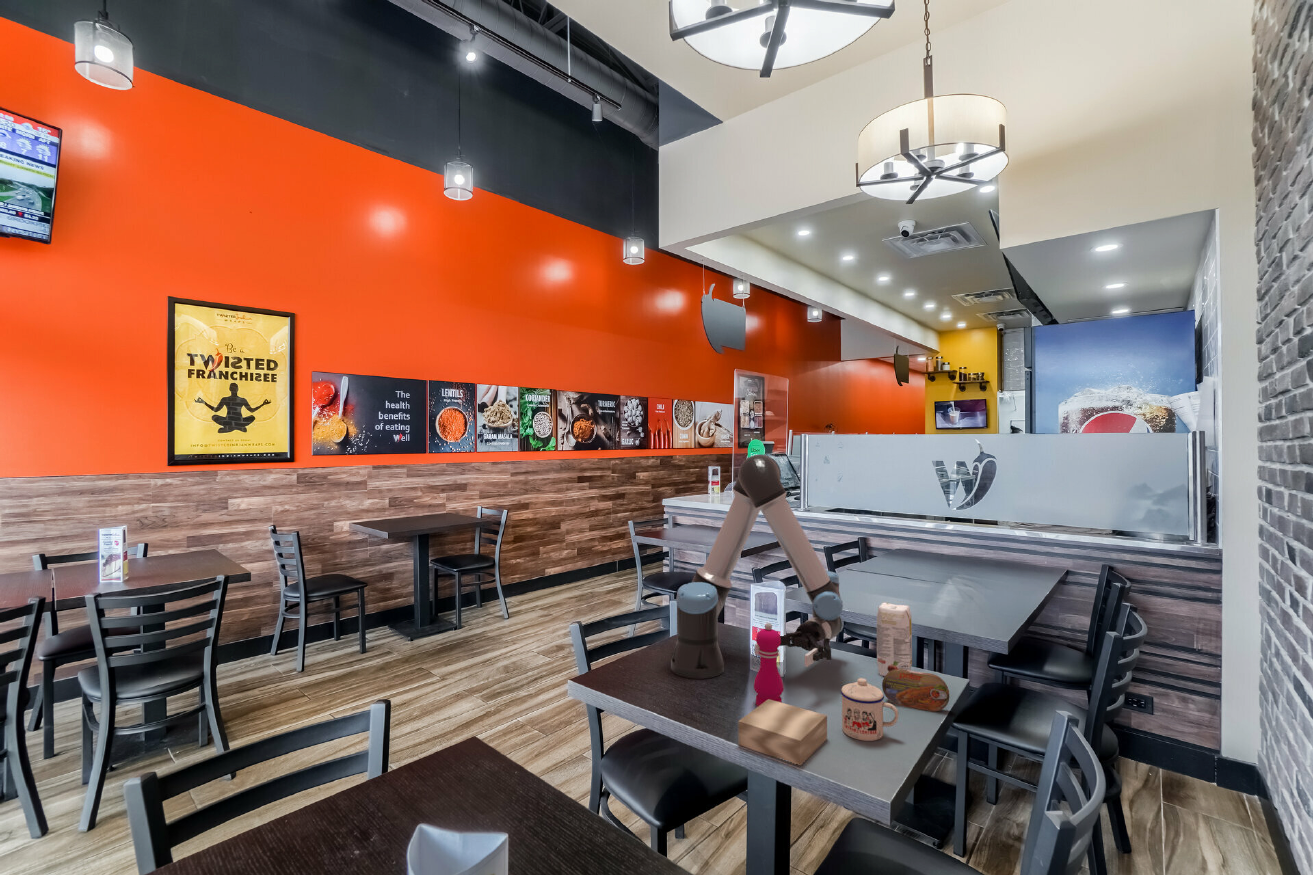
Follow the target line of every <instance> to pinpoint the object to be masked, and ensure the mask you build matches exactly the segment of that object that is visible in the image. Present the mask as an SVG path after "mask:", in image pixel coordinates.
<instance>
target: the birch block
mask: <svg viewBox="0 0 1313 875" xmlns="http://www.w3.org/2000/svg"><path fill="white" fill-rule="evenodd" d="M737 723H738V726H737V727H738V732H737V733H738V738H737V739H738V745H739V746H741V747H744V748H748V749H749V750H753V751H755V752H757V753H758V752H759V753H761V754H764V755H767V756H771V757H773V756H774V757H773V758H776V757H777V759H779V758H781V759H784V760H788V761H789V762H788V763H790V762H792V763H791V764H793V763H794V764H793V765H796V764H798V765H797V766H799V765H801V764H802V765H803V764H804V763H805V762H806V761H807V760H808V759H809V758H810V757H811V756H812V755H813V754H814V753H815V752H816V750H818V748H820V746H822V745H823V744H824V743H825V741H827V740H828V715H826V714H823V713H819V712H817V711H813V710H808V709H806V708H803V707H802V708H801V707H798V706H794V705H791V704H789V703H788V704H787V703H784V702H782V703H781V702H777V701H774V700H770V699H768V700H767V701H765V702H764V703H762V704H761V705H760V706H756V708H754V709H753V710H751V711H750V712H749V713H748V714H746V715H745V716H743V717H742V718H741V719H739V720H738V722H737ZM781 759H780V760H781ZM784 760H783V761H784ZM805 760H806V761H805ZM803 762H804V763H803ZM802 765H801V766H802Z"/></svg>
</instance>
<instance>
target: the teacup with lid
mask: <svg viewBox="0 0 1313 875" xmlns="http://www.w3.org/2000/svg"><path fill="white" fill-rule="evenodd" d="M840 689H841V690H840V694H841V727H842V728H841V729H842V731H843V733H844V734H846V736H848V737H850V738H852V739H855V740H859V741H864V742H865V741H866V742H873V741H878V740H880V739H881V738H883V736H884V727H892V726H894V725H896V724H897V722H898V719H899V710H898V709H897V707H896V705H895V704H893V703H890V702H884V699H885V694H884V692H883V690H881V689H880V688H879V687H876V686H874V685H873V684H872V685H871V683H868V681H867V679H866V678H862V677H859V678H858V679H857V681H855V682H853V683H852V682H851V683H847V684H844V685H843V686H842V687H841V688H840ZM884 708H889V709H891V710H892V711H893V712H894V717H893V719H892V720H891V721H884Z"/></svg>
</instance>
